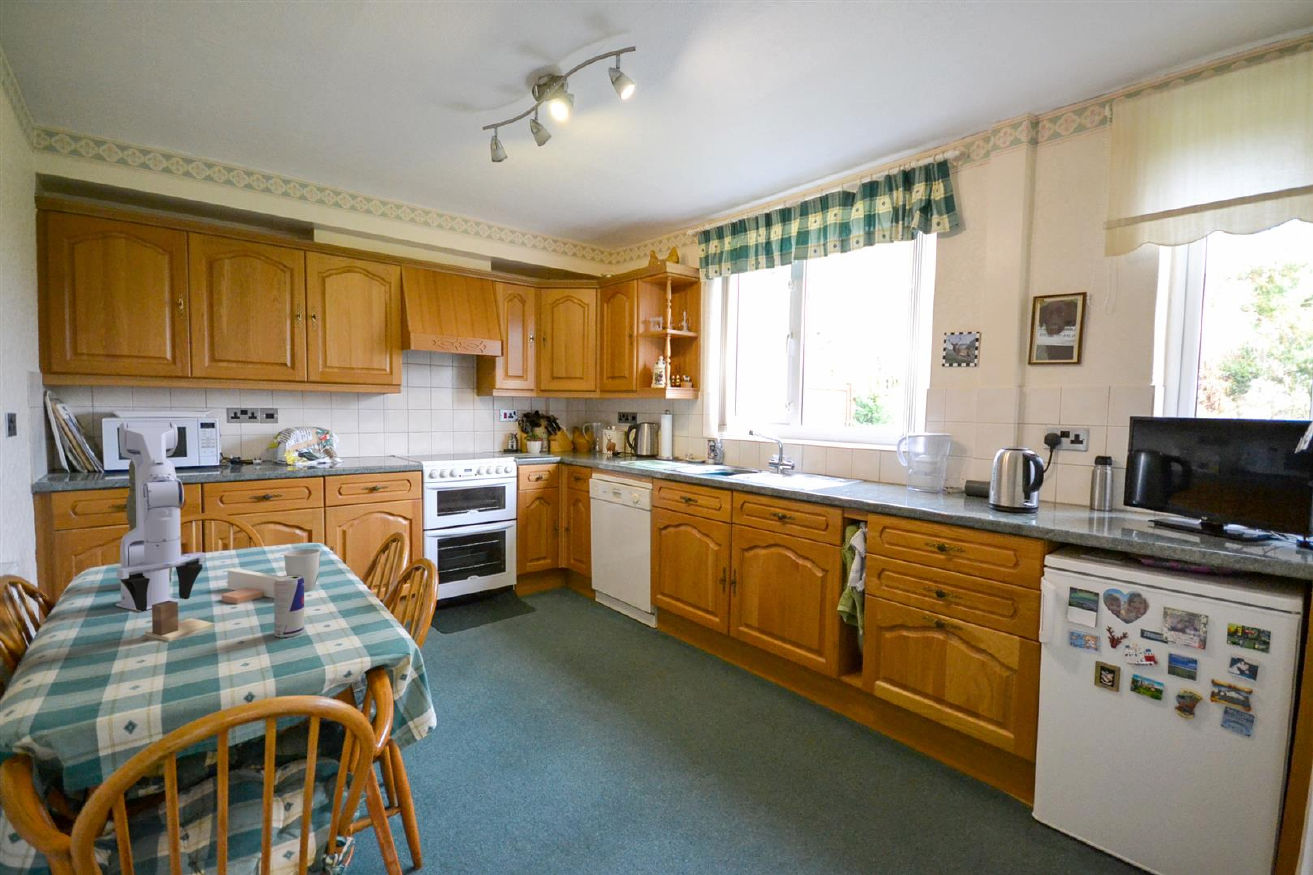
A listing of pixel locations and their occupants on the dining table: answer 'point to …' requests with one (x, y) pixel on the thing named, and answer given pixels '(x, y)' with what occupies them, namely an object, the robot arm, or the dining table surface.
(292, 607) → the energy drink
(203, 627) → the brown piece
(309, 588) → the cup
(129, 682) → the dining table surface
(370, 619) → the dining table surface
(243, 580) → the batten
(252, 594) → the tile
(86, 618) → the dining table surface
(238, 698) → the dining table surface
